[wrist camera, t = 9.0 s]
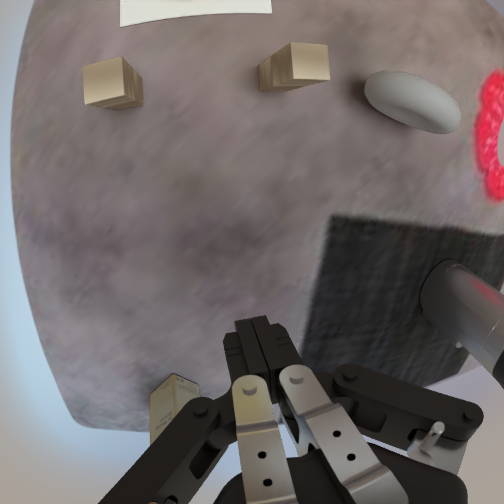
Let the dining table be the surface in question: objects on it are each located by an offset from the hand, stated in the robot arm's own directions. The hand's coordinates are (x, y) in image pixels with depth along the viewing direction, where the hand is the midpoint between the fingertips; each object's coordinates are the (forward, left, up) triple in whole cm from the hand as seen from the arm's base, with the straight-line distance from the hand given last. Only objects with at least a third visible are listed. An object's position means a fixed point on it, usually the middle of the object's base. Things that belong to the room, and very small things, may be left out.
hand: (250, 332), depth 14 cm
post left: (+13, +7, -17) cm, 22 cm away
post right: (+13, -7, -17) cm, 22 cm away
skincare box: (-23, +9, -17) cm, 30 cm away
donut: (+11, -19, -17) cm, 28 cm away
